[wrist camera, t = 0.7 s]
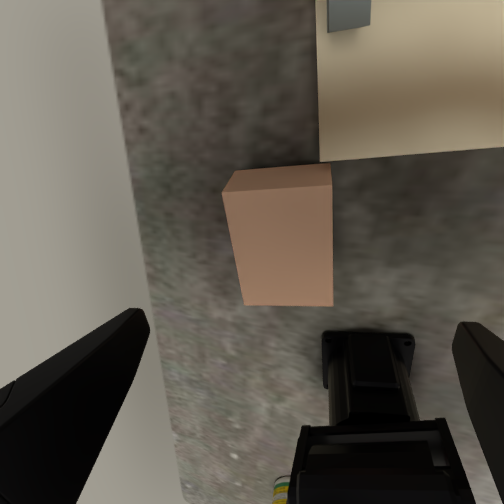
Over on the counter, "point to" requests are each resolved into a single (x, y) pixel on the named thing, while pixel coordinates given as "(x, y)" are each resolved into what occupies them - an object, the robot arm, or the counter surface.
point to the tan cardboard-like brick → (282, 234)
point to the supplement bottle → (281, 490)
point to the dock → (409, 76)
